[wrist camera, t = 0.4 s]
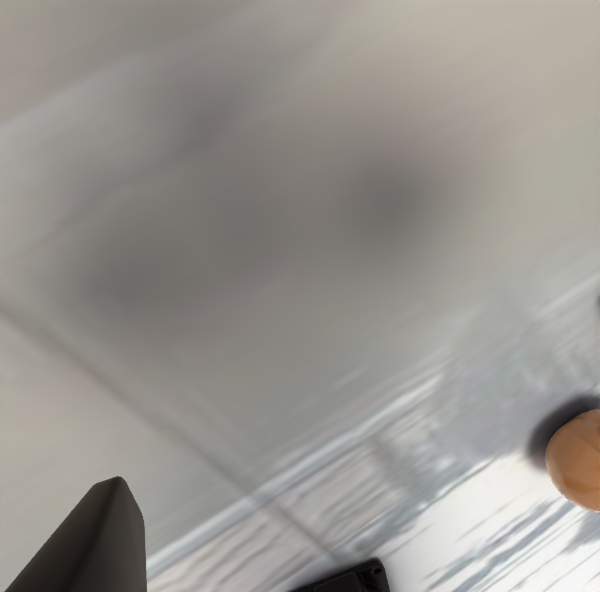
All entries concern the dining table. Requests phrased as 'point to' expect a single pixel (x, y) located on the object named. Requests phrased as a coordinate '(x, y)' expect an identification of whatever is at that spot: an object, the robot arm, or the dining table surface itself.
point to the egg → (577, 460)
